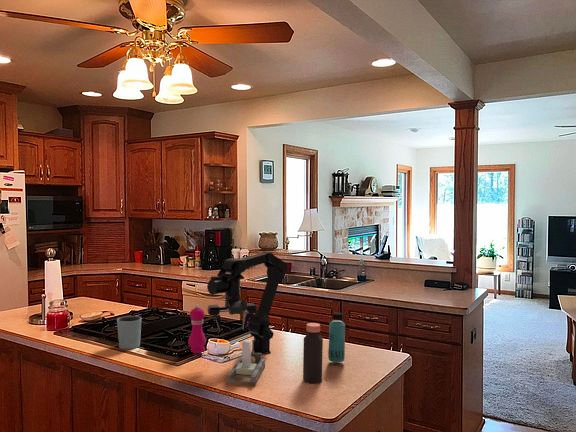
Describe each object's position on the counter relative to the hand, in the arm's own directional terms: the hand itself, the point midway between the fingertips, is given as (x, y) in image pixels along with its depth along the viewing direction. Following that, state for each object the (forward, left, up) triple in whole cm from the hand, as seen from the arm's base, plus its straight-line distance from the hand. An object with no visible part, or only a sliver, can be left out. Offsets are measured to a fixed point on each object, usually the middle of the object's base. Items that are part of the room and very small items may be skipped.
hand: (232, 330), depth 190 cm
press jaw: (-2, +17, -10) cm, 20 cm away
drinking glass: (+39, -29, -12) cm, 50 cm away
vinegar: (-24, +27, -12) cm, 38 cm away
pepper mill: (+12, -14, -12) cm, 22 cm away
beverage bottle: (-39, +13, -12) cm, 43 cm away
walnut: (-5, +11, -11) cm, 16 cm away
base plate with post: (-2, +17, -12) cm, 21 cm away
